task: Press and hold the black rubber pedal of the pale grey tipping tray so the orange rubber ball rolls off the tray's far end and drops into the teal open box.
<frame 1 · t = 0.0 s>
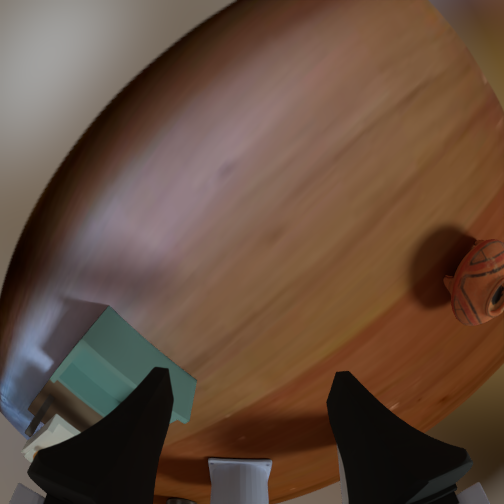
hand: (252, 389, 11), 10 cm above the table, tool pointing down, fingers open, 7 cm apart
stand: (75, 410, 26), on the table
pot: (462, 269, 21), on the table
tray: (74, 459, 20), point 6 cm above the table, hinge at 0.0°, touching ball
teal open box: (123, 370, 23), on the table
sauce bottle: (183, 501, 35), on the table
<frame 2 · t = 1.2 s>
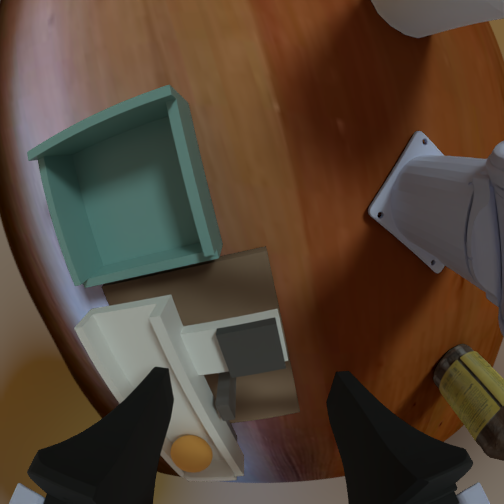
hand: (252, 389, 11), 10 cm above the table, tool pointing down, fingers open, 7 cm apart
foam cup: (402, 9, 14), on the table
ball: (191, 453, 16), point 8 cm above the table, touching tray
stand: (190, 349, 23), on the table
tray: (213, 402, 16), point 7 cm above the table, hinge at 0.0°, touching ball
teal open box: (136, 192, 19), on the table
sauce bottle: (451, 361, 25), on the table
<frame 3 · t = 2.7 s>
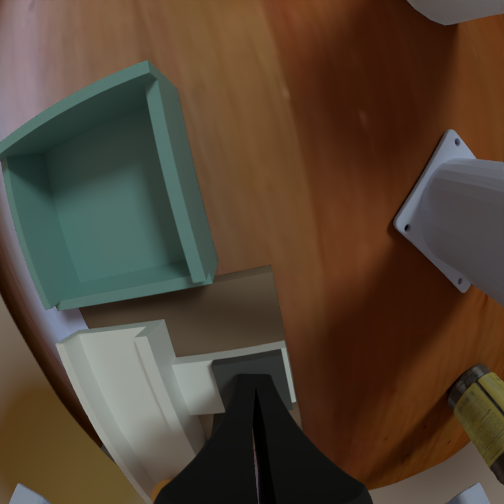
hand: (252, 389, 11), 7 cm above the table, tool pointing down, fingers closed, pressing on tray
ball: (176, 499, 11), point 9 cm above the table, tilted 33°, touching tray
stand: (182, 378, 19), on the table
tray: (207, 448, 13), point 7 cm above the table, hinge at 13.3°, touching ball, gripper
teal open box: (115, 198, 15), on the table
sauce bottle: (466, 382, 21), on the table
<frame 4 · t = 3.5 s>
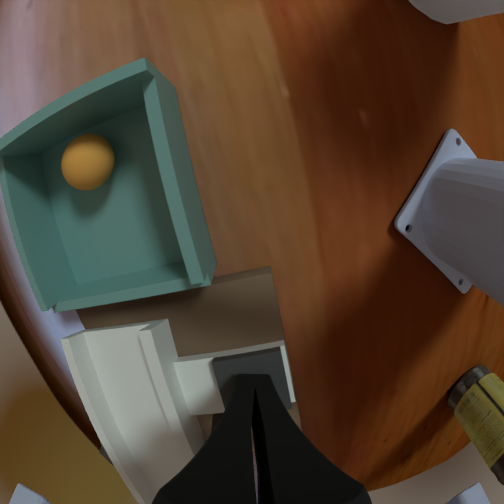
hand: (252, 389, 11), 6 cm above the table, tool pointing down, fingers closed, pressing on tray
ball: (87, 161, 12), point 2 cm above the table, tilted 120°, touching teal open box
stand: (180, 380, 19), on the table
tray: (206, 452, 12), point 7 cm above the table, hinge at 19.0°, touching gripper
teal open box: (112, 198, 15), on the table
sauce bottle: (466, 383, 21), on the table
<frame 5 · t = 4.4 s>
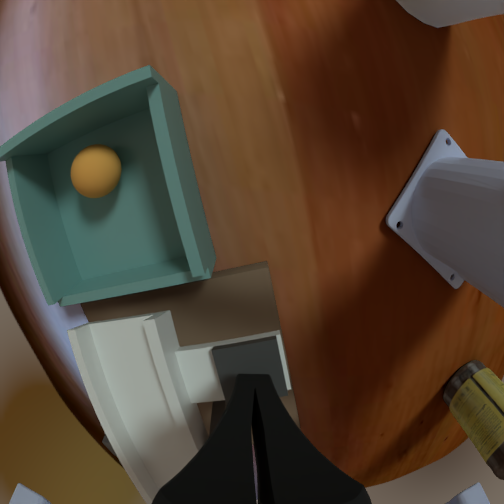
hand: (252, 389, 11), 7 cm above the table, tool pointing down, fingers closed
ball: (95, 171, 13), point 2 cm above the table, tilted 101°, touching teal open box
stand: (181, 373, 20), on the table
tray: (206, 440, 13), point 7 cm above the table, hinge at 19.0°
teal open box: (116, 197, 15), on the table
sauce bottle: (461, 378, 22), on the table
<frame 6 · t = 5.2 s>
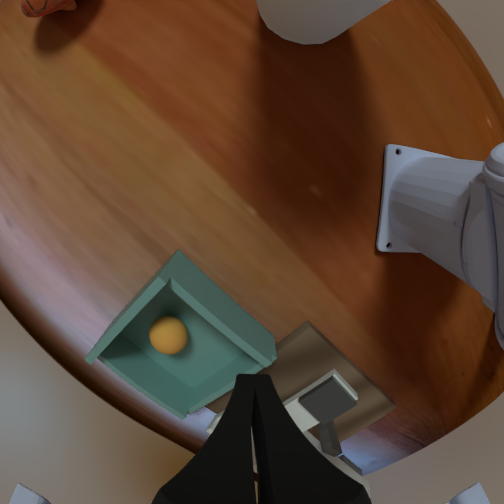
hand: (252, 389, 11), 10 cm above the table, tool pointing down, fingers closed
foam cup: (302, 12, 15), on the table
ball: (168, 335, 20), point 2 cm above the table, tilted 83°, touching teal open box
stand: (289, 408, 25), on the table
tray: (323, 448, 19), point 7 cm above the table, hinge at 19.0°
teal open box: (185, 332, 22), on the table
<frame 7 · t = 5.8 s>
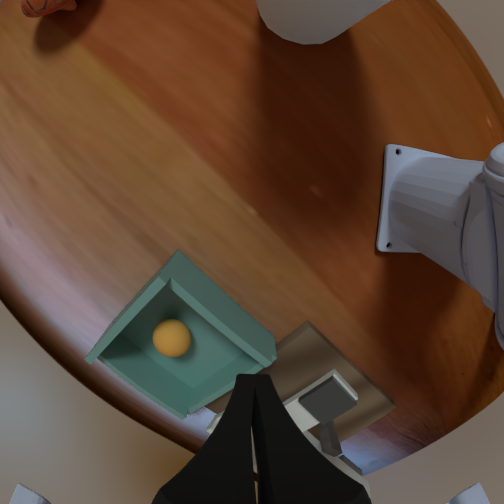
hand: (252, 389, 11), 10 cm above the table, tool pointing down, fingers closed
foam cup: (302, 12, 15), on the table
ball: (171, 338, 20), point 2 cm above the table, tilted 70°, touching teal open box
stand: (289, 408, 25), on the table
tray: (323, 448, 19), point 7 cm above the table, hinge at 19.0°
teal open box: (185, 333, 22), on the table
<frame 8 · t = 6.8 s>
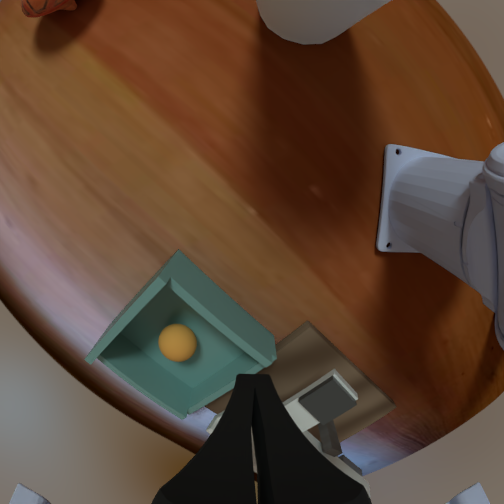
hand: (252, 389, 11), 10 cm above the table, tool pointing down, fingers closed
foam cup: (302, 12, 15), on the table
ball: (177, 342, 20), point 2 cm above the table, tilted 48°, touching teal open box
stand: (289, 408, 25), on the table
tray: (323, 448, 19), point 7 cm above the table, hinge at 19.0°
teal open box: (185, 333, 22), on the table
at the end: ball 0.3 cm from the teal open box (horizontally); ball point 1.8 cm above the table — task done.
